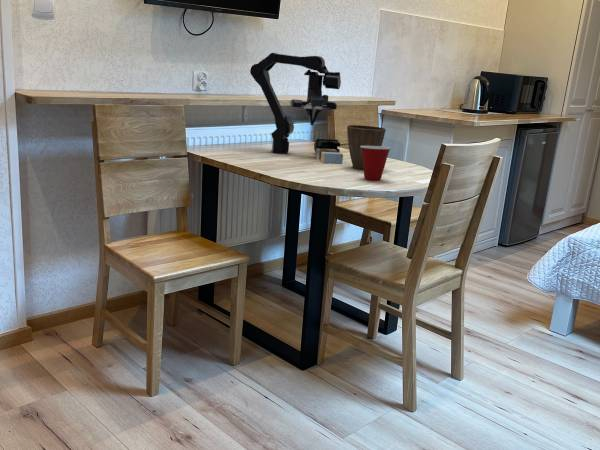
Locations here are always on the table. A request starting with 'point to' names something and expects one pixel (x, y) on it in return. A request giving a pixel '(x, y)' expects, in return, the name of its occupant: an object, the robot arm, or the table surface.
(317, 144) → the end cap
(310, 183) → the table surface
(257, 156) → the table surface
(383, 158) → the plastic cup
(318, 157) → the walnut block
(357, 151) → the plant pot
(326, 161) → the slate block
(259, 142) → the table surface
